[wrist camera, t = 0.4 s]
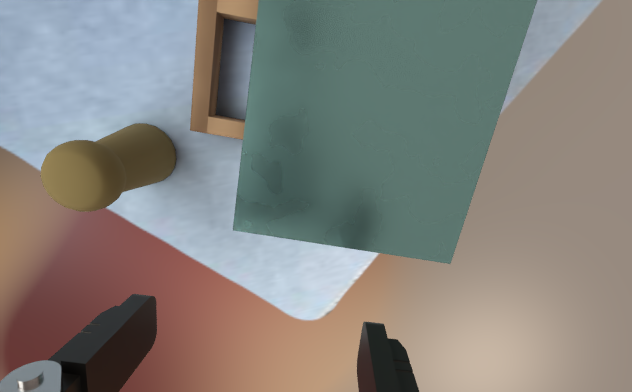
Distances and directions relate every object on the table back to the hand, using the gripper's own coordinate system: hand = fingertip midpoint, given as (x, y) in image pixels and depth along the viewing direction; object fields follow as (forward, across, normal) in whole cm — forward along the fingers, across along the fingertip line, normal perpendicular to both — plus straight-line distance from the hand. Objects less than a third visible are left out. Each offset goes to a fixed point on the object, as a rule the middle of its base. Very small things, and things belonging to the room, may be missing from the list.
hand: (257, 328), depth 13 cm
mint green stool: (+22, -2, -10) cm, 25 cm away
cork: (+22, +16, -2) cm, 27 cm away
